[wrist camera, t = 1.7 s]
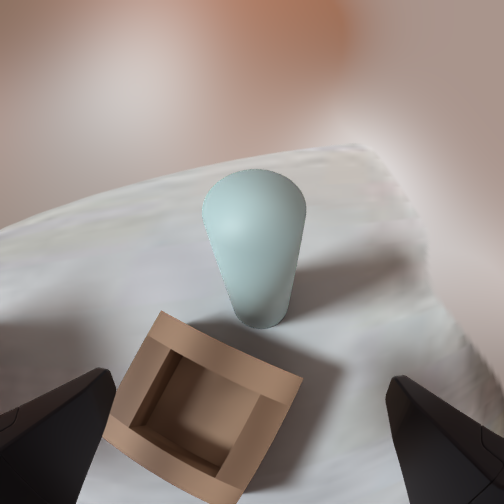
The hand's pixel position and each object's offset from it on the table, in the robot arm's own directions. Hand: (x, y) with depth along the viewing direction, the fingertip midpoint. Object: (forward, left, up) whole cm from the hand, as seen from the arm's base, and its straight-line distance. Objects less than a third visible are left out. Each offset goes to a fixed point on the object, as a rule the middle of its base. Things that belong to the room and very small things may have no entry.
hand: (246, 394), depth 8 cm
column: (+3, -7, -14) cm, 16 cm away
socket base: (+3, +3, -14) cm, 14 cm away
